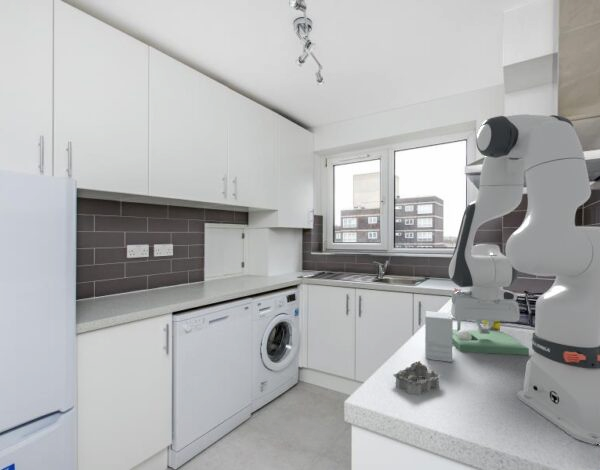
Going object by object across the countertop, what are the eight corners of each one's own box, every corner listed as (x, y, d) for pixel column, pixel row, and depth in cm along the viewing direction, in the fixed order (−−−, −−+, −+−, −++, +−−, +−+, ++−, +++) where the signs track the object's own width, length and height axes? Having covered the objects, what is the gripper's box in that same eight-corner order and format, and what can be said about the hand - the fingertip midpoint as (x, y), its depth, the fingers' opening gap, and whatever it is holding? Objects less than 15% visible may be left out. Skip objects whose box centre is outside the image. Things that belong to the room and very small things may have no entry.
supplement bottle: (490, 333, 117) (490, 305, 117) (479, 328, 123) (480, 302, 123) (503, 332, 118) (504, 305, 118) (492, 327, 124) (493, 301, 123)
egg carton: (419, 375, 83) (420, 359, 83) (444, 388, 77) (445, 371, 77) (389, 383, 78) (390, 367, 78) (413, 398, 72) (414, 380, 72)
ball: (463, 347, 105) (476, 342, 104) (457, 335, 105) (470, 329, 104) (457, 342, 109) (470, 337, 109) (452, 330, 109) (465, 325, 109)
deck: (528, 354, 97) (529, 299, 96) (459, 351, 99) (460, 297, 99) (497, 334, 116) (498, 288, 116) (440, 331, 118) (441, 286, 118)
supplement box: (450, 353, 97) (451, 312, 97) (452, 363, 90) (453, 319, 90) (424, 350, 100) (425, 310, 100) (424, 358, 93) (425, 316, 93)
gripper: (455, 292, 104) (454, 334, 104) (522, 295, 101) (521, 338, 101) (448, 289, 110) (448, 328, 110) (512, 291, 107) (511, 331, 108)
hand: (483, 333), depth 106 cm, fingers closed
